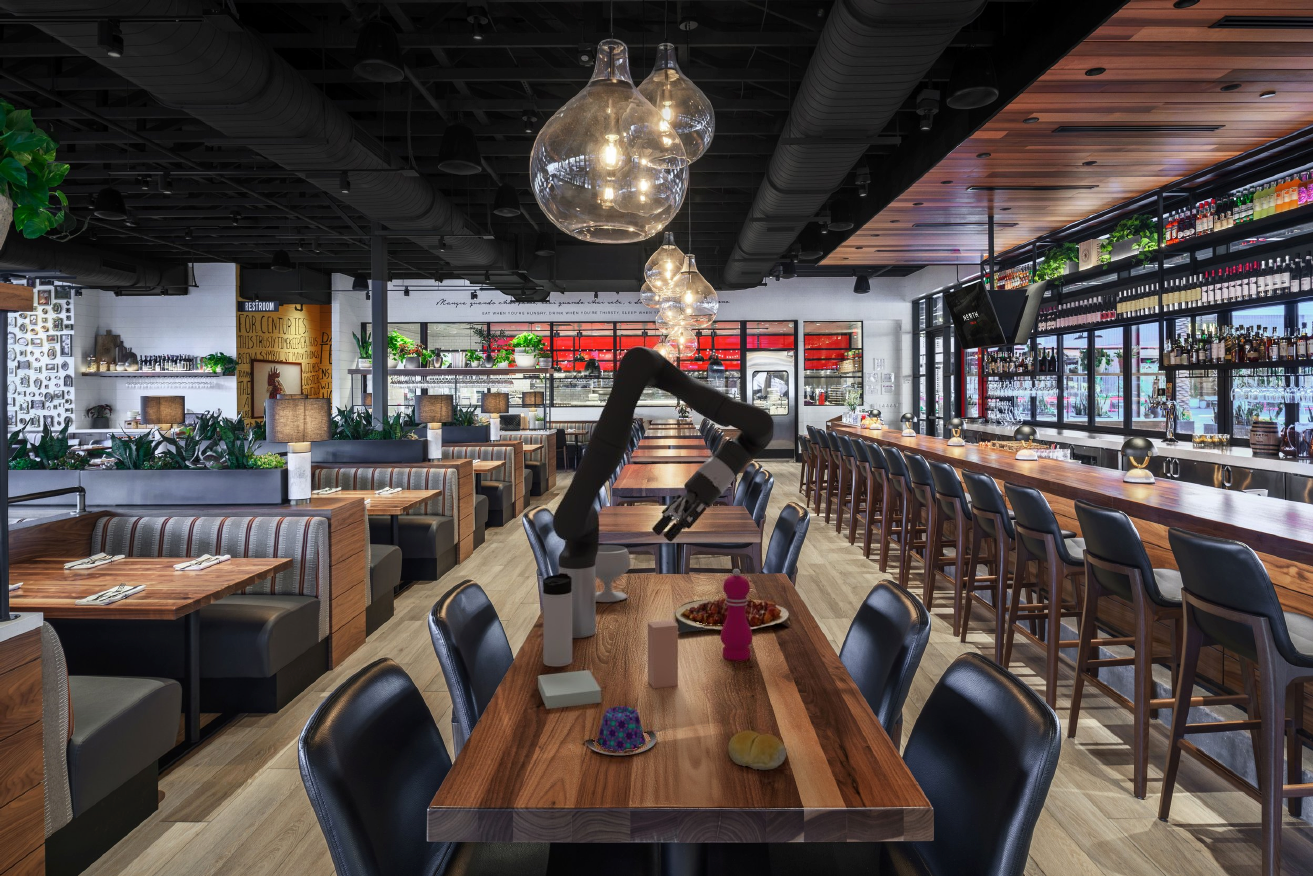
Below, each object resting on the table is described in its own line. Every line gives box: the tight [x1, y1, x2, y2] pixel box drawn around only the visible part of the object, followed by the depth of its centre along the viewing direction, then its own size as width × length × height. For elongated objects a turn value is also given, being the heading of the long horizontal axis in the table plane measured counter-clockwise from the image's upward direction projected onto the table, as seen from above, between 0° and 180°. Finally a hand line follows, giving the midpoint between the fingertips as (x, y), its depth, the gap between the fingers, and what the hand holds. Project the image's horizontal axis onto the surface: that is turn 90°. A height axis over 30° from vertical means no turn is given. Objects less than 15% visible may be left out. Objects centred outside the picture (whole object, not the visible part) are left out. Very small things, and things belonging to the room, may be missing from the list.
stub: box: [647, 619, 679, 689], centre depth 144 cm, size 5×4×12 cm
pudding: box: [585, 705, 658, 756], centre depth 122 cm, size 12×12×5 cm
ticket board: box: [537, 669, 602, 710], centre depth 141 cm, size 32×12×4 cm, turn 107°
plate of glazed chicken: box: [674, 597, 791, 633], centre depth 194 cm, size 31×35×7 cm
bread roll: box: [728, 729, 787, 771], centre depth 116 cm, size 8×9×4 cm
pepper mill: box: [720, 568, 753, 662], centre depth 165 cm, size 7×7×20 cm
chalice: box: [595, 544, 632, 603], centre depth 217 cm, size 14×14×15 cm
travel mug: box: [542, 573, 573, 667], centre depth 158 cm, size 6×7×20 cm
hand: (660, 535), depth 158 cm, fingers open, 8 cm apart
